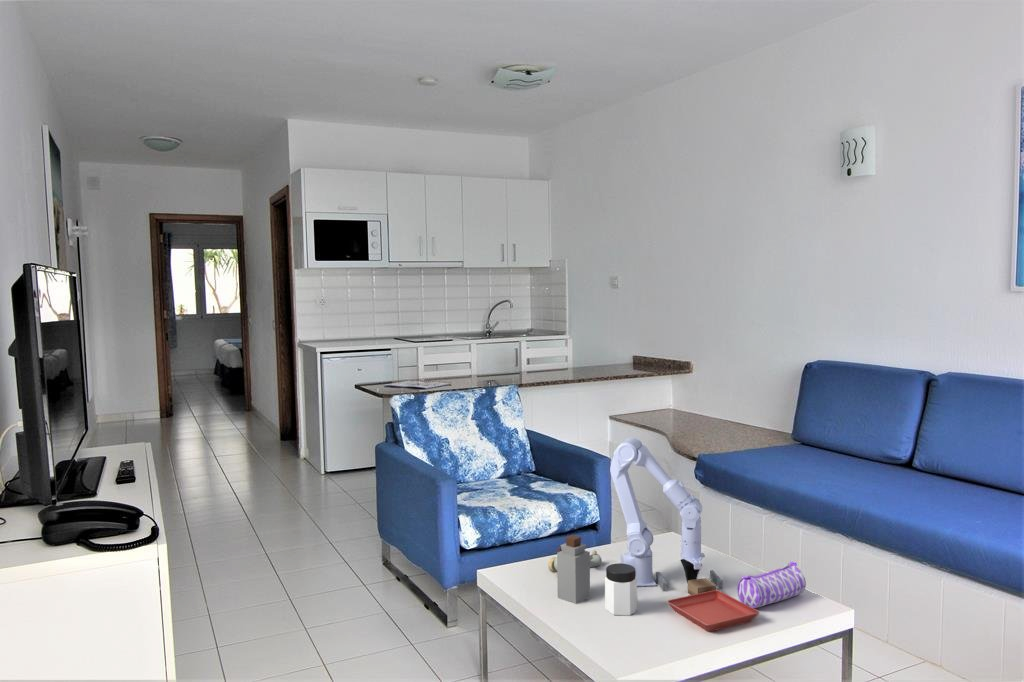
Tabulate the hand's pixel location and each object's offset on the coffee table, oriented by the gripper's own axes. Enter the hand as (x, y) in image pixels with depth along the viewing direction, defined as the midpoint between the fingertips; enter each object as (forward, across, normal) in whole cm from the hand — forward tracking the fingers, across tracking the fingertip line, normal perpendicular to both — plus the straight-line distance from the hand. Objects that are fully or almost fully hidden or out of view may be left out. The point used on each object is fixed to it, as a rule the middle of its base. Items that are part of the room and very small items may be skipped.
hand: (691, 584), depth 232 cm
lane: (+1, +3, 0) cm, 3 cm away
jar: (+1, -14, +24) cm, 28 cm away
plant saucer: (+2, -20, 0) cm, 20 cm away
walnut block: (+1, -6, -2) cm, 6 cm away
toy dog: (+2, +18, +33) cm, 38 cm away
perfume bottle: (+2, -4, +36) cm, 36 cm away
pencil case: (+2, -11, -21) cm, 23 cm away
